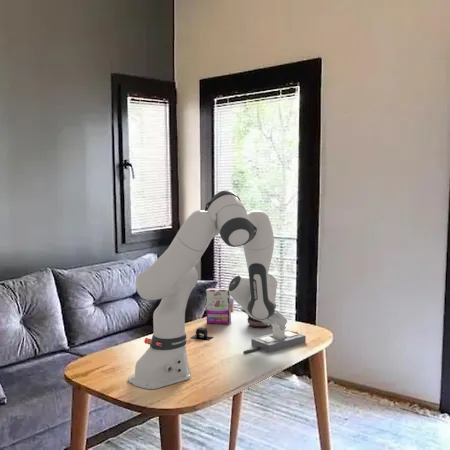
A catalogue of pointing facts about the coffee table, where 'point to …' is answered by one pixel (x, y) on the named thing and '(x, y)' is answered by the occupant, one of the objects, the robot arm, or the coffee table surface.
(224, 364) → the coffee table surface
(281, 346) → the power strip
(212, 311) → the candy bar box
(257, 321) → the flowerpot
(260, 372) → the coffee table surface
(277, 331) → the plug
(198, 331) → the black boxy piece
